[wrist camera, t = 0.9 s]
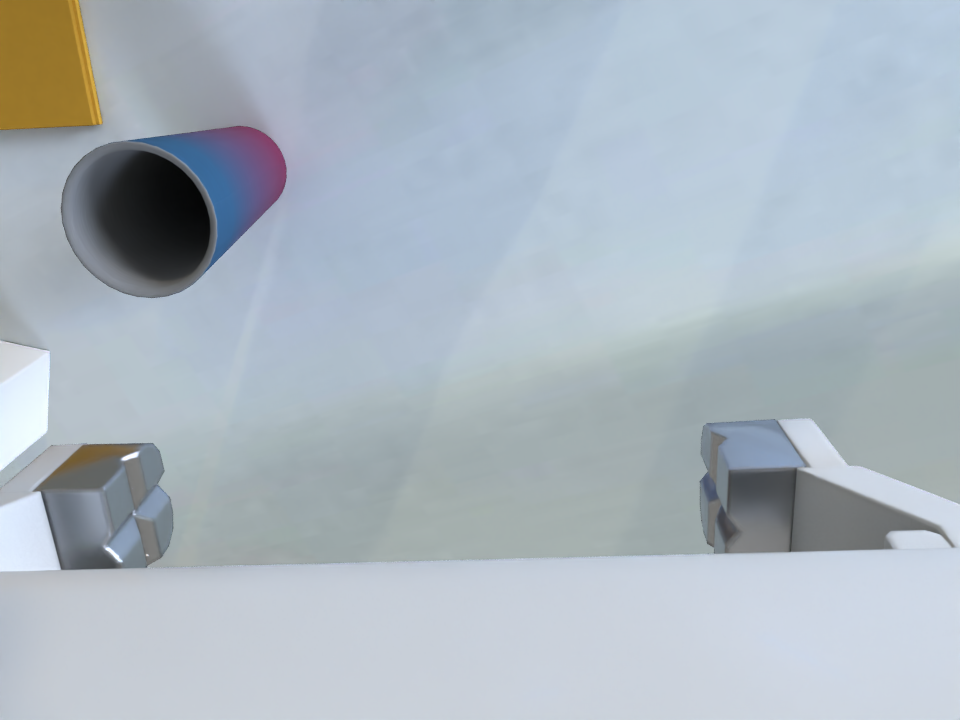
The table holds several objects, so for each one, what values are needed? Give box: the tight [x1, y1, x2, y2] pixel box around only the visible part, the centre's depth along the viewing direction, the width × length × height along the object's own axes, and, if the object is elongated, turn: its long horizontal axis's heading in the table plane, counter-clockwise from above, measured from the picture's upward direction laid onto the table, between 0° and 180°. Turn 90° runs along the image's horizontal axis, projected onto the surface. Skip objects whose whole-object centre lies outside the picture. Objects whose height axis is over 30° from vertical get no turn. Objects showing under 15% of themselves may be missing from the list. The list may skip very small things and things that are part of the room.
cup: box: [61, 126, 286, 298], centre depth 44 cm, size 7×7×15 cm
